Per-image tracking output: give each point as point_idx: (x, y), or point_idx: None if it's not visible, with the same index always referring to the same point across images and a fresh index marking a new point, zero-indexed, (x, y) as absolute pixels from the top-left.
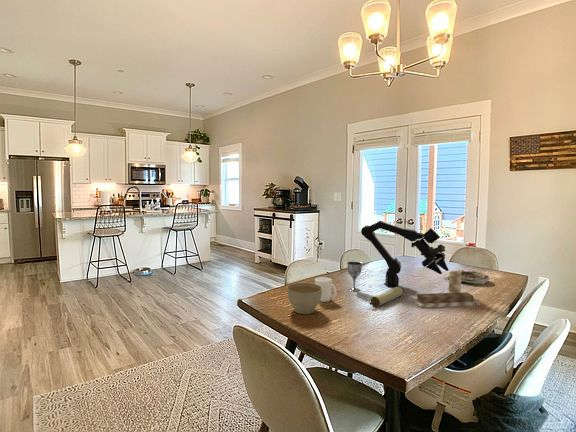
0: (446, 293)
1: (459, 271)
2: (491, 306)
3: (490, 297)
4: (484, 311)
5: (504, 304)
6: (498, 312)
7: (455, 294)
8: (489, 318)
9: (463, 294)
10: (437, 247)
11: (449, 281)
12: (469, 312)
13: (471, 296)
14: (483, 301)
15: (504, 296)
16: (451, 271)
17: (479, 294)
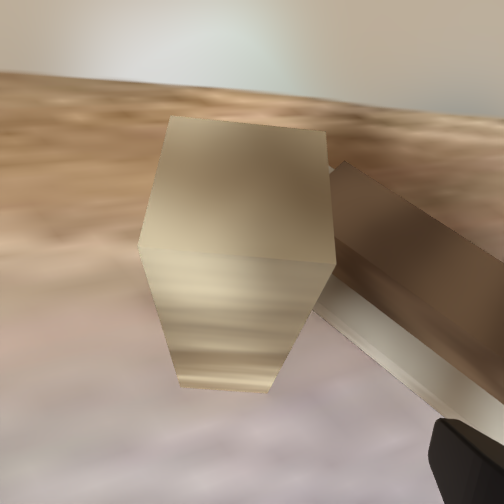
0: (489, 335)
1: (169, 140)
2: None
3: (86, 148)
4: (406, 147)
5: (195, 92)
6: (360, 104)
7: (439, 263)
8: (485, 124)
9: (378, 215)
10: None
11: (296, 336)
12: (498, 197)
13: (356, 173)
14: None
15: (11, 97)
16: (278, 242)
17: (41, 206)
